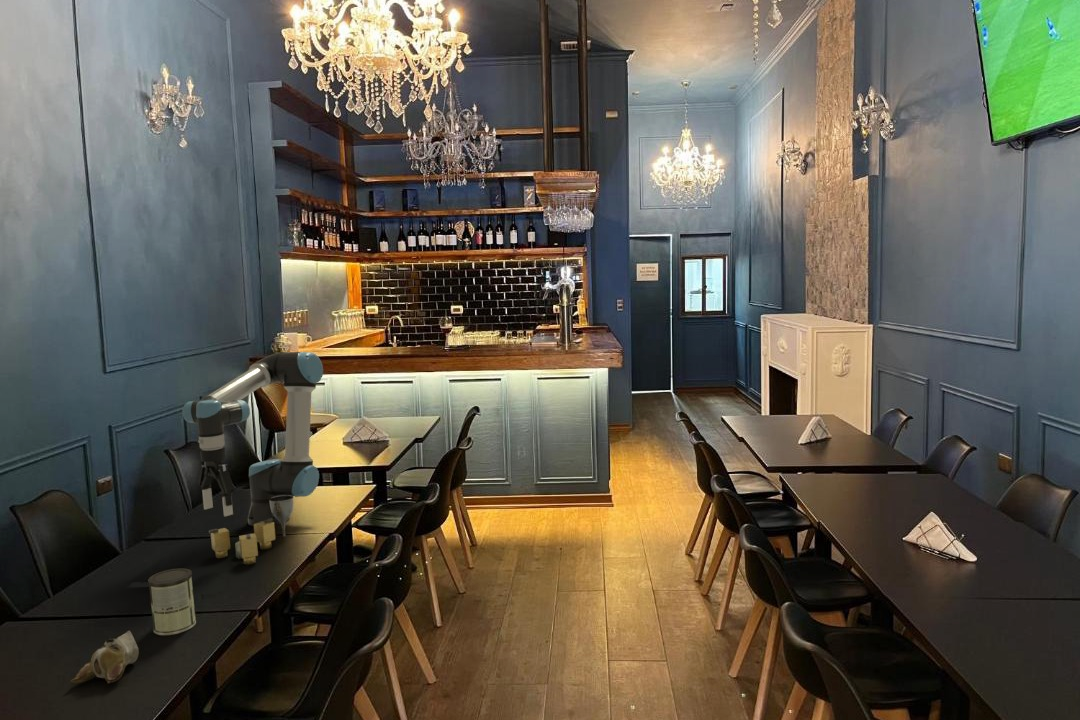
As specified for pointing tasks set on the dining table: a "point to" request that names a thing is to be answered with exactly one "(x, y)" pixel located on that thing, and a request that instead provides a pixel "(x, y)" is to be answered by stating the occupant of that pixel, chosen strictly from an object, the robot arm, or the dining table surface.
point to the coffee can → (172, 601)
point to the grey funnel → (282, 508)
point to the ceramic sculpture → (110, 659)
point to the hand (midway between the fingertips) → (218, 511)
